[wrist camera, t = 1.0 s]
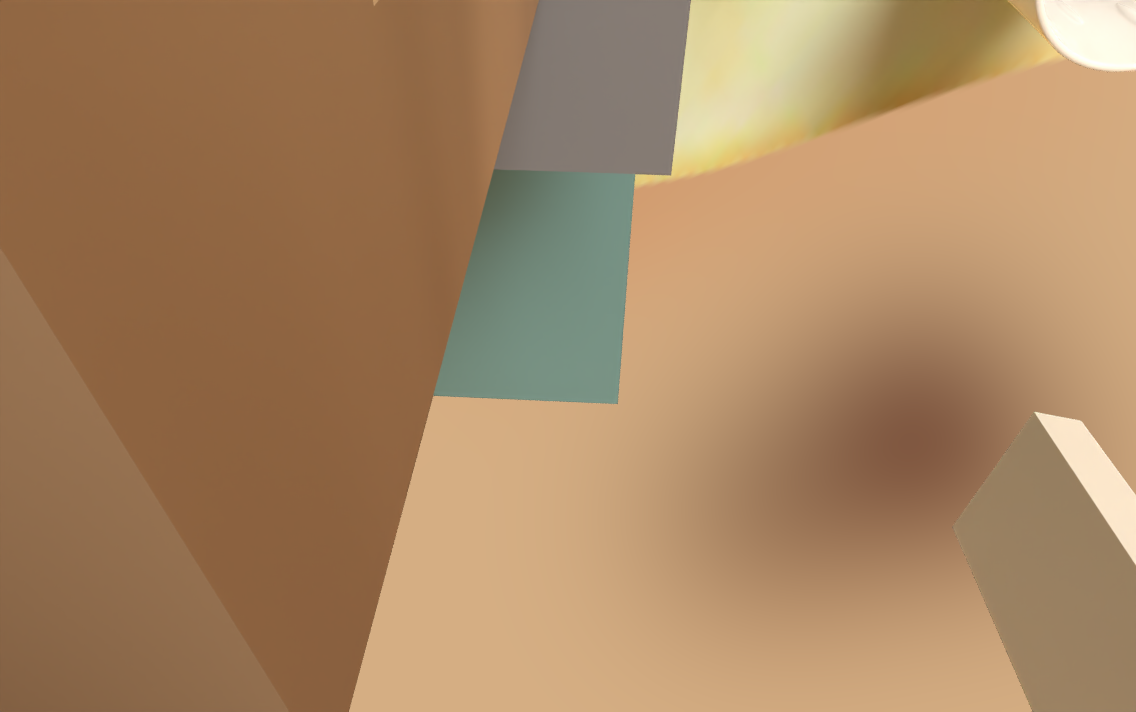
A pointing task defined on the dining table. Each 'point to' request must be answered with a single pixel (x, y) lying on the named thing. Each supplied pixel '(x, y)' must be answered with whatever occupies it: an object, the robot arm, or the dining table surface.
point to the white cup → (1086, 30)
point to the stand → (567, 203)
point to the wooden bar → (225, 330)
